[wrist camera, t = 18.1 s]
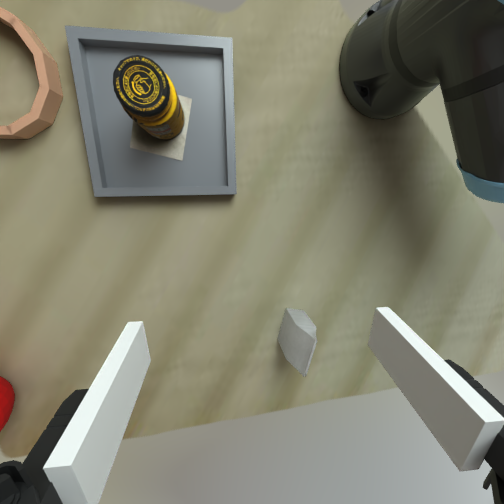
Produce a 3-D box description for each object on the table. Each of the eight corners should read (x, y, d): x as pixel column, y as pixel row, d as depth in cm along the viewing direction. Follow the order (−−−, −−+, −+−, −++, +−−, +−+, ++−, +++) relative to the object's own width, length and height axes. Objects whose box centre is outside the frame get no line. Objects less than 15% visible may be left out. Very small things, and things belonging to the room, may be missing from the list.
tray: (230, 47, 35) (232, 37, 33) (235, 193, 40) (236, 194, 38) (75, 37, 32) (64, 25, 30) (102, 196, 37) (94, 196, 35)
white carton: (277, 339, 49) (293, 376, 39) (285, 307, 47) (304, 338, 38) (294, 340, 49) (314, 378, 40) (303, 310, 48) (326, 341, 38)
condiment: (192, 99, 35) (182, 57, 24) (182, 160, 37) (169, 149, 26) (137, 82, 34) (100, 30, 22) (130, 147, 36) (92, 129, 24)
